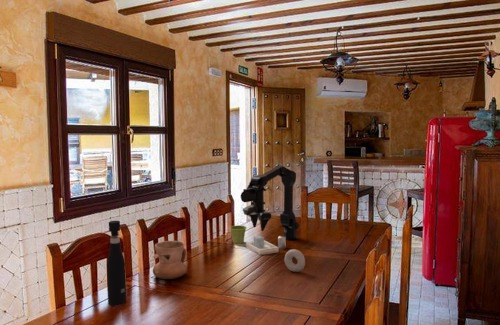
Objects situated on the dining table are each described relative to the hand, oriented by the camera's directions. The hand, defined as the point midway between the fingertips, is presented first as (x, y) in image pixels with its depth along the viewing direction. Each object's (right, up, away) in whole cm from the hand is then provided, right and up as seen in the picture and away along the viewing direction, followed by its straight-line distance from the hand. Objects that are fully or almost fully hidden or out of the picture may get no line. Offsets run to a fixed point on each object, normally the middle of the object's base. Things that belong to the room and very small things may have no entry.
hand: (258, 229), depth 216 cm
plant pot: (-11, -10, +13) cm, 19 cm away
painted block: (0, -10, +1) cm, 10 cm away
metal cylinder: (+13, -10, +1) cm, 16 cm away
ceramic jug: (-39, -14, -40) cm, 57 cm away
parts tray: (+2, -11, -2) cm, 11 cm away
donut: (+15, -13, -37) cm, 42 cm away
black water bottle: (-53, -16, -67) cm, 87 cm away
